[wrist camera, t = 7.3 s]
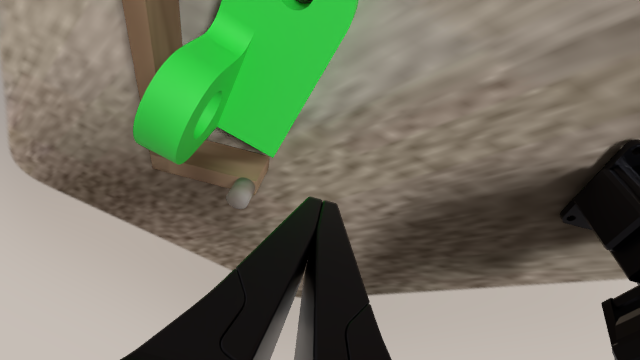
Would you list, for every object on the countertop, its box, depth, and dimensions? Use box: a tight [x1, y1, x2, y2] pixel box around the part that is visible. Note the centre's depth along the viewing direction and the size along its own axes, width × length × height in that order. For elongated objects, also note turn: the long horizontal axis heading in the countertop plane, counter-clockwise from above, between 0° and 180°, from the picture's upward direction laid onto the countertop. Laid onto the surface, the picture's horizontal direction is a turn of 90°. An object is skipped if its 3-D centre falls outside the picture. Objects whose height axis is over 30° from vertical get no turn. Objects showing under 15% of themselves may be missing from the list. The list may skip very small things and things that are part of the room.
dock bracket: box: [122, 0, 269, 209], centre depth 17 cm, size 7×18×4 cm, turn 169°
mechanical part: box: [133, 0, 358, 165], centre depth 16 cm, size 12×6×8 cm, turn 150°
